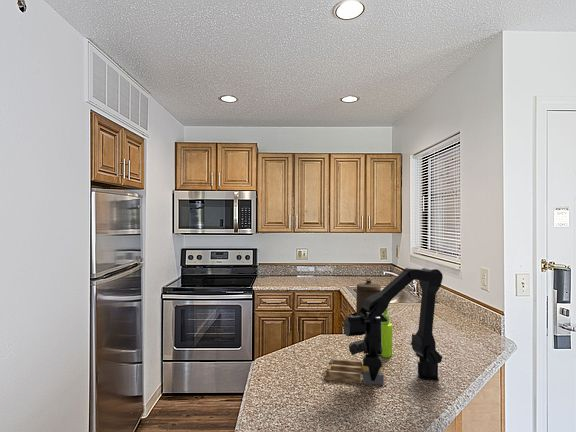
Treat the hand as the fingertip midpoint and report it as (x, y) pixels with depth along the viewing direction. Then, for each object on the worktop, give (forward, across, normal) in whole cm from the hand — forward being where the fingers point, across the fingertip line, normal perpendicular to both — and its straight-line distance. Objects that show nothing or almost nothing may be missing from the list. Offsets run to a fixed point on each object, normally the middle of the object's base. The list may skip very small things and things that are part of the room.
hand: (373, 378), depth 146 cm
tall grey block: (+1, 0, 0) cm, 1 cm away
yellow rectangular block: (+2, -11, -1) cm, 11 cm away
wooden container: (+2, -111, -6) cm, 111 cm away
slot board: (+1, -6, -10) cm, 12 cm away
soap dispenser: (+1, -32, +4) cm, 33 cm away
